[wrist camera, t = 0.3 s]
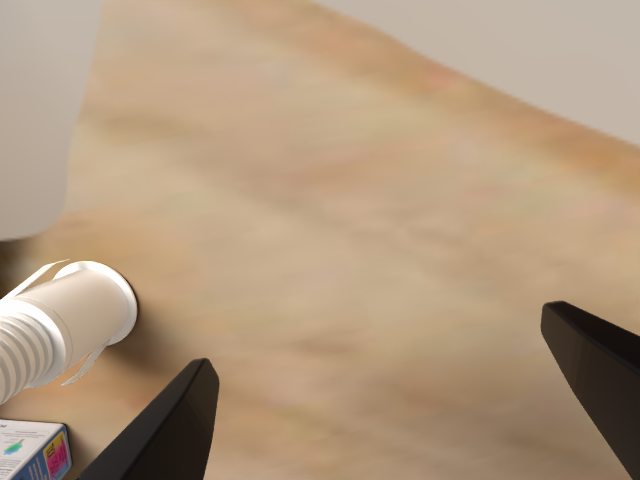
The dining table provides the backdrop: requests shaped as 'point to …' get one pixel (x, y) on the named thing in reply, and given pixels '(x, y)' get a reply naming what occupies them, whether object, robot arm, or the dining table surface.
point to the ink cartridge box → (33, 451)
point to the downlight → (61, 324)
